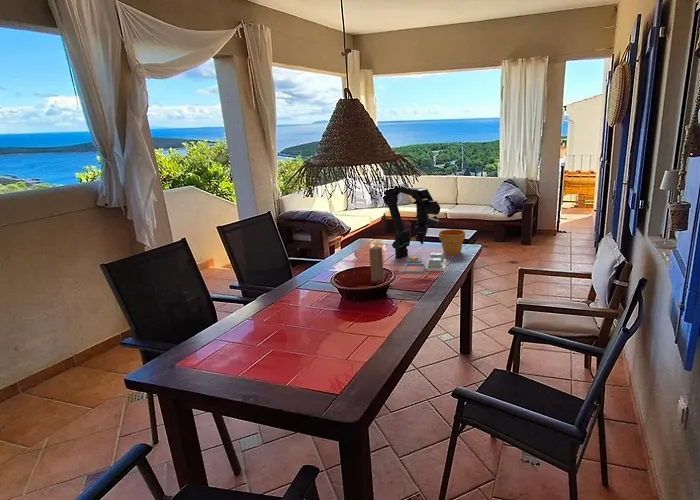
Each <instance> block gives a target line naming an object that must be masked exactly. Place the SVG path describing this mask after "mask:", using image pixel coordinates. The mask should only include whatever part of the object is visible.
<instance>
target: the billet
mask: <svg viewBox="0 0 700 500" xmlns="http://www.w3.org/2000/svg"><path fill="white" fill-rule="evenodd" d="M428 259H429V260H428ZM428 259H427V261H428V262H429V268H441V258H430V257H428Z"/></svg>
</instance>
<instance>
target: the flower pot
mask: <svg viewBox="0 0 700 500" xmlns="http://www.w3.org/2000/svg"><path fill="white" fill-rule="evenodd" d="M465 238H466V231H465V230H463V229H455V228H453V229H452V228H451V229H443V230H440V231H439V232H438V239H439V241H440V242H441V243H440V244H441V247H442V250H443V255H444V254H445V255H446V256H447V255H448V256H456V255H457V256H458V255H460V254H461V253H462V248H463V243H464V240H465Z"/></svg>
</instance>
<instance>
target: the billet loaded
mask: <svg viewBox="0 0 700 500" xmlns="http://www.w3.org/2000/svg"><path fill="white" fill-rule="evenodd" d="M443 255H444V252H431V253H430V255H429V256H430V257H429V258H441V262H443V259H444V256H443Z"/></svg>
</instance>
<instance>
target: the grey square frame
mask: <svg viewBox="0 0 700 500" xmlns="http://www.w3.org/2000/svg"><path fill="white" fill-rule="evenodd" d="M422 260H423V259H422V257H418V261H411V257H408V258H407V260H406V263H422Z"/></svg>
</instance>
